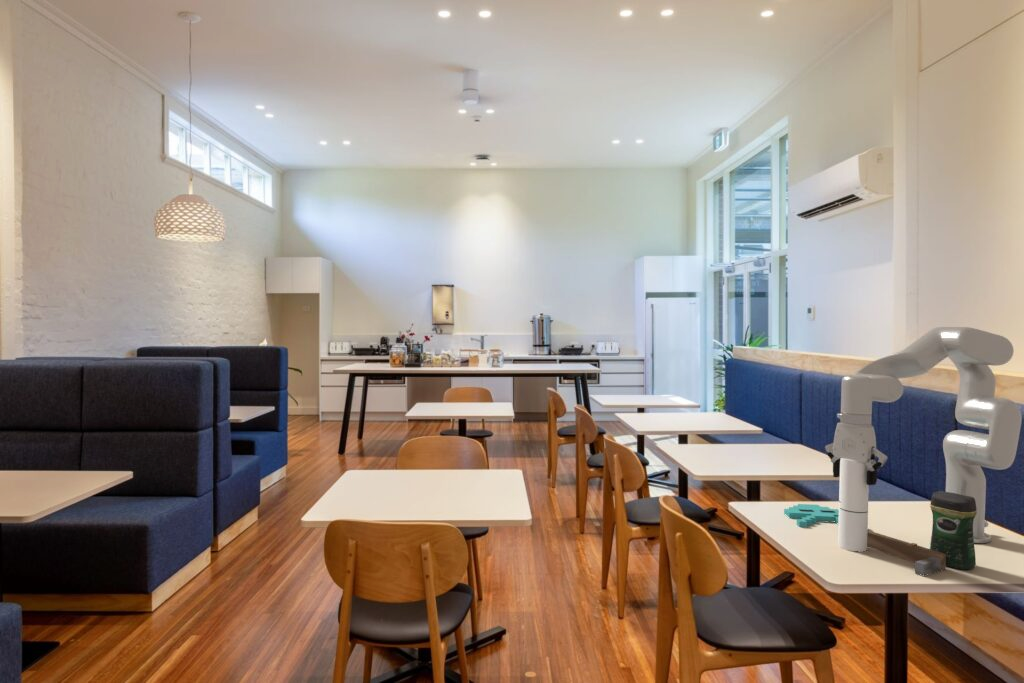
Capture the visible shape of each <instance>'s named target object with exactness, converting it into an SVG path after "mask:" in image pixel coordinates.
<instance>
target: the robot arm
mask: <svg viewBox="0 0 1024 683" xmlns="http://www.w3.org/2000/svg"><path fill="white" fill-rule="evenodd" d="M1014 353H1015V352H1014V346H1013V343H1012V342H1011V341H1010V340H1009V339H1008V338H1007V337H1005V336H1004V335H1003V336H1002V335H1000V334H997V333H993V332H989V331H985V330H982V329H978V328H974V327H970V326H938V327H935V328H931V329H930V330H928V331H927V332H926V333H924V334H923V335H922V336H920V337H918V338H917V339H915V341H913V342H912V343H910V344H909V345H908V346H907V347H905V348H903V350H901V351H897V352H895V353H891V354H888V355H886V356H883V357H881V358H878V359H876V360H873V361H871V362H868V363H867V364H866V365H864V366H863V367H861V368H860V369H858V371H856V372H855V373H854V374H853V375H852V374H851V375H845V376H843V377H842V379H841V386H840V387H841V391H840V393H841V394H840V396H841V398H840V413H839V412H837V414H836V417H837V418H838V419H840V420H839V421H840V422H837V424H836V428H835V431H834V437H833V442H831V443H828V444H826V445H825V446H824V449H825V452H827V453H826V454H827V455H826V456H828V458H829V459H830V463H832V474H833V478H840V458H844V459H849V460H853V461H857V462H860V463H865V464H866V465H867V467H868V468H869V470H868V471H867V485H869V486H875V485H877V481H878V471H880V469H881V468H883V467H884V465H885V463H886V462H887V461H888V456H887V455H886V454H885V453H883V452H881V451H880V450H879V449H878V448H877V441H876V440H877V439H876V432H875V428H874V426H873V425H872V413H873V412H872V410H873V402H879V403H894V402H896V401H898V400H899V399H900V398H901V397H902V395H903V394H904V385H903V383H902V381H900V379H907V378H913V377H918V376H921V375H925V374H926V373H928V372H929V371H931V370H932V369H933V368H934V367H936V366H938V364H939V363H941V362H942V361H943V360H945V359H946V358H948V359H949V360H950V361H951V362H952V364H954V366H955V368H956V370H957V372H958V374H959V386H958V387H959V388H958V392H957V398H956V403H955V410H954V414H955V416H954V417H955V419H956V421H957V422H958V423H959V424H962V425H963V426H966V427H972V428H977V429H983V430H988V433H989V434H988V433H984V432H977V431H971V430H967V429H966V430H965V429H957V430H952V431H950V432H948V433H947V434H946V435H944V438H943V441H942V449H943V450H942V451H943V455H944V460H945V473H946V475H945V492H950V493H956V494H960V495H965V496H970V497H973V498H974V499H975V502H976V509H977V514H976V516H975V517H974V520H973V538H974V544H986V543H990V542H991V540H992V536H991V535H989V534H988V533H986V532H985V528H988V527H989V522H988V521H986V519H985V518H986V516H985V515H986V497H987V496H986V494H987V492H986V490H987V478H986V476H985V473H984V471H983V469H982V467H983V468H987V469H991V470H998V471H999V470H1000V471H1001V470H1006V469H1009V468H1010V467H1011V466H1012V465H1013V463H1014V461H1015V459H1016V455H1017V450H1018V444H1019V438H1020V432H1021V429H1022V428H1021V427H1022V419H1023V418H1022V411H1021V409H1020V406H1019V405H1018V404H1017V403H1016V402H1015V401H1014V400H1011V399H1009V398H1005V397H995V393H996V392H995V391H996V384H997V382H996V380H997V379H996V377H995V374H994V372H993V370H992V369H991V368H990V366H996V367H997V366H1002V365H1005V364H1007V363H1008V362H1010V361H1011V359H1012V358H1013V356H1014ZM876 458H878V461H877V462H876V460H877V459H876Z"/></svg>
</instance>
